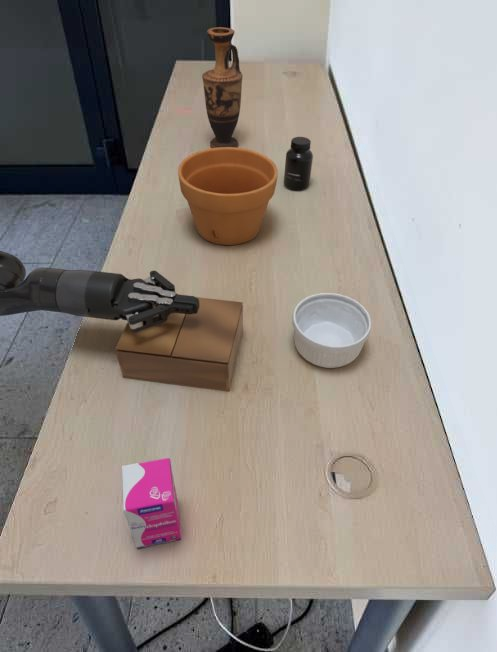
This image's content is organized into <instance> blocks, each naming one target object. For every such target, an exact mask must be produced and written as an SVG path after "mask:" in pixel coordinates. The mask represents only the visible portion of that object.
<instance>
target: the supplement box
mask: <svg viewBox="0 0 497 652" xmlns="http://www.w3.org/2000/svg"><path fill="white" fill-rule="evenodd" d="M121 488H122V509H123V513H124V517H125V519H126V522H127V525H128V527H129V530H130V533H131V536H132V539H133V542H134V544H135V548H136V549H142V548H145V547H149V546H155V545H160V544H165V543H171V542H177V541H181V540H182V530H181V519H180V510H179V502H178V496H177V490H176V483H175V477H174V473H173V468H172V462H171V458H168V457H166V458H159V459H153V460H148V461H143V462H142V461H141V462H136V463H131V464H124V465H121Z"/></svg>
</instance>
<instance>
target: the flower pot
mask: <svg viewBox="0 0 497 652" xmlns="http://www.w3.org/2000/svg"><path fill="white" fill-rule="evenodd" d="M278 171H279V170H278V167H277V165H276V164H275V162H274V161H273V160H272V159H271V158H269V157H268V156H266V155H264V154H262V153H260V152H258V151H255V150H252V149H248V148H243V147H237V148H236V147H219V148H211V147H210V148H206V149H202V150H198V151H196V152H193V153H192V154H190V155H188V156H187V157H185V158H184V159H183V160H182V161H181V162H180V163H179V165H178V168H177V177H178V183H179V187H180V192H181V195H182V196H183V198H184V199H185V201H186V202H187V204H188V207H189V211H190V213H191V216H192V219H193V222H194V225H195V227H196V231H197V232H198V234H199V235H200V236H201V237H202V238H203V239H204V240H206V241H208V242H210V243H212V244H216V245H222V246H235V245H241V244H245V243H247V242H248V241H251V240H252V239H253V238H255V237H257V235H258V233H259V231H260V228H261V225H262V222H263V221H264V216H265V213H266V210H267V208H268V205H269V202H270V200H272V198H273V196H274V195H275V192H276V187H277V181H278V175H279V172H278Z"/></svg>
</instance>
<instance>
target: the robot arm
mask: <svg viewBox="0 0 497 652" xmlns="http://www.w3.org/2000/svg"><path fill="white" fill-rule="evenodd" d="M26 275H27V276H26ZM163 297H164V298H163ZM196 297H197V296H195V295H187V294H186V295H185V294H179V293H176V287H175V284H174V283H172V282H171V281H170V280H168V279H167V278H166V277H165V276H163V275H162V274H161V273H160V272H158V271H157V270H150V271H149V276H147V277H146V278H143V279H142V278H139V277H138V278H132V279H130V278H127V277H126V276H125V275H123V274H122V273H115V272H106V271H97V270H89V269H88V270H87V269H65V268H64V269H63V268H53V267H44V266H43V267H36V268H34V269H32V270H31V271H30V273H29V274H27V269H26V267H25V265H24V263H23V262H22V261H21V259H19V258H18V257H17V256H15V255H14V254H11V253H9V252H6V251H2V250H0V317H5V316H13V315H17V314H24V313H32V312H38V311H45V312H54V313H61V314H68V315H72V316H76V317H83V318H91V319H92V318H93V319H101V320H108V321H109V320H110V321H119V320H122V321H127V323H129V326H130V329H131V332H133V333H135V332H138V331H141V330H144V329H146V328H149V327H152V326H155V325H158V324H160V323H163V322H166V321H167V317H168V316H169V315H172V314H174V313H180V314H189V315H190V314H197V312H198V309H199V306H200V305H199V299H198V298H196ZM153 316H158V317H155V318H152V317H153Z"/></svg>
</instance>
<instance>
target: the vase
mask: <svg viewBox="0 0 497 652" xmlns="http://www.w3.org/2000/svg"><path fill="white" fill-rule="evenodd" d="M206 33H207V35H208V38H209V40H210V41H211V42H212V43H213V45H214V50H215V54H214V55H215V65H214V67H213V69H209V70H206V71H205V72H203V73H202V75H201V76H202V83H203V93H204V102H205V108H206V110H205V111H206V115H207V119H208V123H209V125H210V128H211V130H212V132H213V134H214V137H213V138H212V139H211V140H210V142H209V147H210V149H211V148H219V147H236V148H239V141H238V139H237V138H236V137H233V134H234V133H235V130H236V127H237V125H238V121H239V117H240V113H241V103H242V90H243V89H242V86H243V73H242V72H241V69H240V59H239V58H240V57H239V51H238V48H237V47H236V45H234V44H232V43H231V42H232V40H233V38H234V36H235V34H236V33H235V30H234V29H232V28H230V27H223V26H220V27H219V26H218V27H210V28H208V29H207V31H206ZM230 53H231V54H232V63H231V67H230Z"/></svg>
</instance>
